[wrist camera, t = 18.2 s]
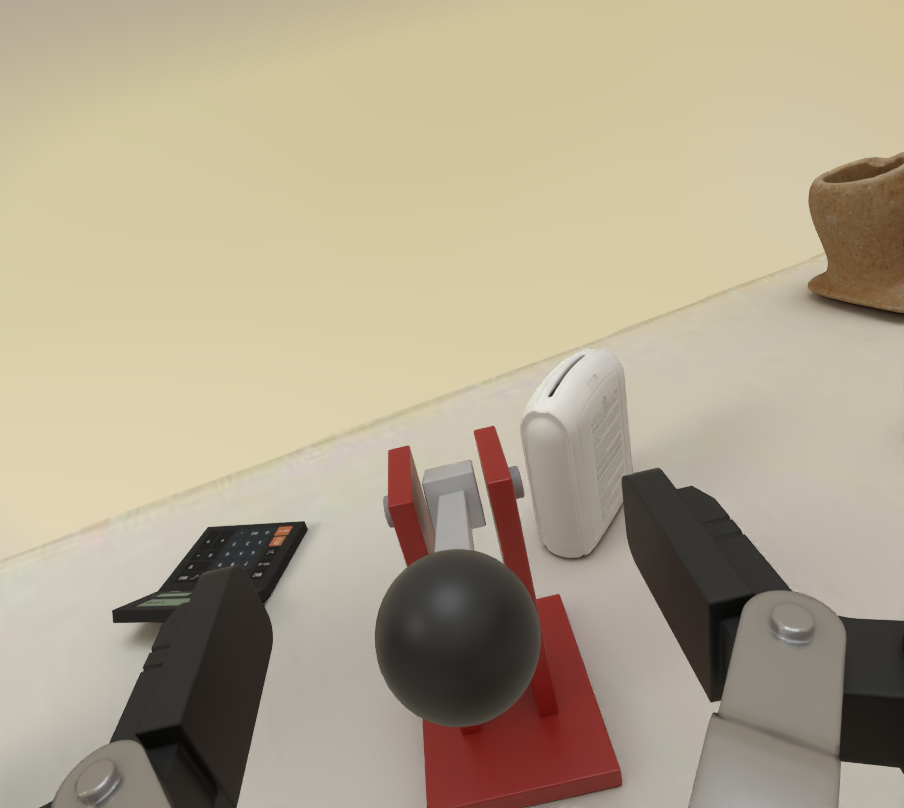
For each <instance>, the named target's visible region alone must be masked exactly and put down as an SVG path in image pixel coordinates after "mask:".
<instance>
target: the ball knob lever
mask: <svg viewBox="0 0 904 808" xmlns="http://www.w3.org/2000/svg"><path fill="white" fill-rule="evenodd" d="M422 486H423V490H424V494H425V498H426V503H427V507H428V511H429V515H430V519H431V523H432V527H433V532H434V536H435V537H436V539H435V551H434V553H432V554H429V555H427V556H424V557H422V558H420V559H418V560H417V561H415V562H414V563H412V564H411V565H410V566H408V567H407V568H406V569H405V570H404V571H403V572H402V573H401V574H400V575H399V576H398V577H397V578H396V579H395V580H394V582H393V583H392V584H391V586H390V587H389V589H388V591H387V593H386V594H385V596H384V598H383V601H382V603H381V606H380V609H379V612H378V616H377V620H376V628H375V648H376V654H377V660H378V664H379V667H380V670H381V673H382V675H383V677H384V679H385V681H386V683H387V685H388V687H389V688H390V690H391V691H392V693H393V694H394V695H395V697H396V698H397V699H398V700H399V701H400V702H401V703H402V704H403V705H404V706H405V707H406V708H407V709H409V710H410V711H411V712H413V713H414V714H415V715H417V716H419V717H421V718H423V719H425V720H427V721H429V722H431V723H434V724H438V725H442V726H447V727H468V726H474V725H478V724H482V723H485V722H487V721H490V720H492V719H494V718H496V717H497V716H499V715H501V714H502V713H504V712H505V711H507V710H508V709H509V708H510V707H511V706H512V705H513V704H514V703H515V702H516V701H517V700H518V699H519V698H520V697H521V696H522V694H523V693H524V691H525V690H526V688H527V687H528V685H529V683H530V681H531V679H532V677H533V675H534V673H535V670H536V667H537V663H538V659H539V654H540V645H541V630H540V624H539V618H538V614H537V610H536V607H535V604H534V602H533V600H532V598H531V596H530V594H529V592H528V590H527V589H526V587H525V585H524V584H523V582H522V581H521V580H520V579H519V578H518V577H517V575H516V574H515V573H514V572H513V571H512V570H510V569H509V568H508V567H507V566H506V565H504V564H503V563H501V562H500V561H498V560H497V559H495V558H493V557H491V556H489V555H486V554H484V553H480V552H477V551H474V544H473V537H472V529H474V528H478V527H482V526H485V525H486V522H485V518H484V513H483V509H482V504H481V500H480V496H479V491H478V487H477V483H476V479H475V474H474V470H473V466H472V461H471V460H467V461H463V462H458V463H454V464H450V465H445V466H441V467H437V468H432V469H428V470H425V473H424V477H423V482H422Z"/></svg>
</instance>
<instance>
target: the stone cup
mask: <svg viewBox="0 0 904 808" xmlns="http://www.w3.org/2000/svg"><path fill="white" fill-rule="evenodd" d="M809 208H810V212H811V216H812V220H813V223H814V226H815V229H816V231H817V233H818V236H819V238H820V240H821V243H822V245H823V248H824V250H825V253H826V256H827V259H828V268H827V271H826V272H824V273H822V274H820V275H818V276H816V277H814V278H813V279H812V280H811V281H810V282H809V283H808V288H809V290H810V291H812V292H814V293H816V294H818V295H821V296H825V297H828V298H832V299H836V300H840V301H845V302H849V303H853V304H858V305H863V306H868V307H873V308H878V309H883V310H887V311H893V312H899V313H904V152H902V153H900V154H897V155H896V156H893V157H890V158H878V157H873V158H864V159H861V160H858V161H855V162H851V163H848V164H845V165H842V166H839V167H837V168H835V169H833V170H831V171H829V172H826V173H824V174H822V175H820V176H819V177H817V178H816V179H815V180H814V182H813V183H812V185H811V187H810V191H809Z"/></svg>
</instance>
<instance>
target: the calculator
mask: <svg viewBox="0 0 904 808" xmlns="http://www.w3.org/2000/svg"><path fill="white" fill-rule="evenodd" d="M307 530H308V529H307V526H306V524H305V522H304V521H303V522H286V523H269V524H253V525H236V526H219V527H208V528H207V529H206V530H205V532H204V533H203V534H202V536H201V537H200V538H199V539H198V541H197V542H196V543H195V545H194V546H193V547H192V548H191V550H190V551H189V552H188V554H187V555H186V556H185V557H184V559H183V560H182V561H181V562H180V564H179V565H178V566H177V568H176V569H175V570H174V571H173V573H172V574H171V575H170V577H169V578H168V579H167V580H166V582H165V583H164V584H163V586H162V587H161V588H160V589H159V591H158V592H155V593H153V594H150V595H148V596H146V597H143V598H141V599H139V600H136V601H134V602H131V603H129V604H127V605H124V606H122V607H119V608H117V609H115V610H112V613H113V623H134V622H165V621H166V620H167V619H168V618H169V617H170V615H171V614H172V613H173V612H174V611H175V610H176V608H177V607H178V606H179V605H180V604H181V603H186V602H189V601H190V598H191V596H192V594H193V591H194V589H195V586H196V584H197V582H198V579H199V577H200V576H201V574H203V573H205V572H209V571H213V570H217V569H222V568H226V567H230V566H234V565H242V566H243V567H244V568H245V569H246V571H247V573H248V575H249V577H250V579H251V581H252V583H253V585H254V587H255V589H256V591H257V593H258V595H259V597H260V599H261V601H264V600H265V599H267V598H268V597H270V595H271V594H272V592H273V590H274V588H275V586H276V585H277V583H278V581H279V579H280V578H281V576H282V574H283V572H284V570H285V569H286V567H287V565H288V563H289V562H290V560H291V558H292V556H293V554H294V553H295V551H296V549H297V547H298V546H299V544H300V542H301V540H302V538H303V537H304V535H305V533H306V531H307Z"/></svg>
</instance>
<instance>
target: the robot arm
mask: <svg viewBox="0 0 904 808" xmlns="http://www.w3.org/2000/svg"><path fill="white" fill-rule="evenodd" d="M621 483H622V494H623V504H624V514H625V524H626V533H627V539H628V543H629V547H630V550H631V553H632V556H633V559H634V561H635V563H636V565H637V567H638V569H639V571H640V573H641V574H642V576H643V578H644V580H645V582H646V584H647V586H648V587H649V589H650V591H651V593H652V595H653V597H654V598H655V600H656V602H657V604H658V606H659V608H660V610H661V611H662V613H663V615H664V617H665V619H666V621H667V622H668V624H669V626H670V628H671V630H672V632H673V634H674V635H675V637H676V639H677V641H678V643H679V645H680V646H681V648H682V650H683V652H684V654H685V656H686V658H687V659H688V661H689V663H690V665H691V667H692V669H693V670H694V672H695V674H696V676H697V678H698V680H699V682H700V683H701V685H702V687H703V689H704V691H705V693H706V694H707V696H708V698H709V700H710V702H715V701H720V700H721V703H720V707H719V710H718V713H713V714H712V716H711V719H710V721H709V725H708V728H707V732H706V736H705V740H704V744H703V748H702V753H701V757H700V761H699V765H698V769H697V773H696V777H695V781H694V785H693V790H692V794H691V798H690V802H689V806H688V808H838V804H839V787H840V768H841V761H843V762H852V763H862V764H871V765H880V766H889V767H898V768H900V769H901V771H902V772H903V773H904V621H896V620H872V619H855V618H847V617H842V616H837V615H836V613H835V612H834V611H832V610H831V609H830V608H829V607H828V606H826V605H825V604H823V603H822V602H820V601H818V600H816V599H815V598H812V597H810V596H807V595H805V594H801V593H798V592H793V591H792V590H791V589H790V588H789V587H788V586H787V584H786V583H785V582H784V581H783V580H782V578H781V577H780V576H779V575H778V574H777V572H776V571H775V570H774V569H773V568H772V566H771V565H770V564H769V563H768V562H767V560H766V559H765V558H764V557H763V556H762V555H761V553H760V552H759V551H758V550H757V549H756V547H755V546H754V545H753V544H752V543H751V541H750V540H749V539H748V538H747V537H746V535H745V534H744V535H743V534H742V531H741V529H740V528H739V527H738V526H737V525H736V523H735V522H734V521H733V520H730V517H729V515H728V514H727V513H726V512H725V510H724V509H723V508H722V507H721V506H720V504H719V503H718V502H717V501H716V500H715V498H713V497H711V496H709V495H707V494H706V493H704V492H702V491H700V490H698V489H697V488H695V487H693V486H689V487H685V488H680V489H676V488H675V487H674V485H673V484H672V483H671V481H670V480H669V479H668V477H667V476H666V475H665V474H664V472H663V471H662V470H661V469H660V468H655V469H651V470H646V471H642V472H638V473H633V474H629V475H625V476H623V477H622V482H621ZM272 644H273V632H272V625H271V621H270V618H269V615H268V613H267V611H266V609H265V607H264V605H263V603H262V601H261V599H260V597H259V595H258V593H257V591H256V589H255V587H254V585H253V583H252V581H251V579H250V577H249V575H248V573H247V571H246V569H245V568H244V567H243V566H242V565H234V566H230V567H226V568H222V569H217V570H213V571H209V572H205V573H203V574H201V576H200V577H199V579H198V582H197V584H196V586H195V589H194V591H193V594H192V596H191V598H190V601H189V602H186V603H181V604H180V605H179V606H178V607H177V608H176V610H175V611H174V612H173V613H172V614H171V615H170V617H169V618H168V619H167V620H166V621H165V623H164V624H163V625H162V626H161V629H160V631H159V633H158V635H157V638H156V640H155V642H154V644H153V646H152V653H149V655H148V658H147V660H146V662H145V664H144V667H143V669H144V671H143V672H141V673H140V676H139V678H138V680H137V682H136V685H135V687H134V689H133V691H132V693H131V696H130V698H129V700H128V702H127V705H126V707H125V709H124V711H123V714H122V716H121V718H120V720H119V723H118V725H117V727H116V729H115V732H114V734H113V736H112V738H111V741H110V743H109V744H107V745H105V746H103V747H101V748H99V749H97V750H96V751H94V752H93V753H91V754H90V755H89V756H87V757H86V758H85V759H84V760H82V761H81V762H80V763H79V764H78V765H77V766H76V767H75V768H74V769H73V770H72V771H71V772H70V773H69V775H68V776H67V777H66V778H65V780H64V781H63V782H62V784H61V786H60V787H59V789H58V791H57V793H56V795H55V797H54V799H53V801H52V802H50V803H48V804H46V805H44V806H42V807H40V808H237V803H238V799H239V794H240V790H241V785H242V781H243V776H244V772H245V767H246V763H247V758H248V754H249V749H250V745H251V740H252V736H253V731H254V727H255V722H256V718H257V713H258V709H259V704H260V700H261V695H262V691H263V686H264V682H265V677H266V673H267V668H268V664H269V659H270V655H271V650H272Z"/></svg>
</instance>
